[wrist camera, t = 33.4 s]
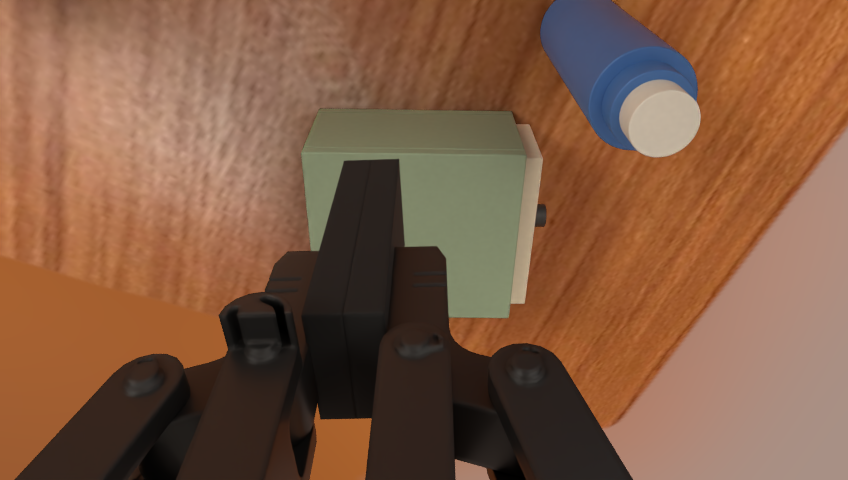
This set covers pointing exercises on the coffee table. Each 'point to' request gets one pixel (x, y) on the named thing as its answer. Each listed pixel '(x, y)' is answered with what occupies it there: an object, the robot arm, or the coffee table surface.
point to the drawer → (527, 213)
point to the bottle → (622, 76)
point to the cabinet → (434, 189)
